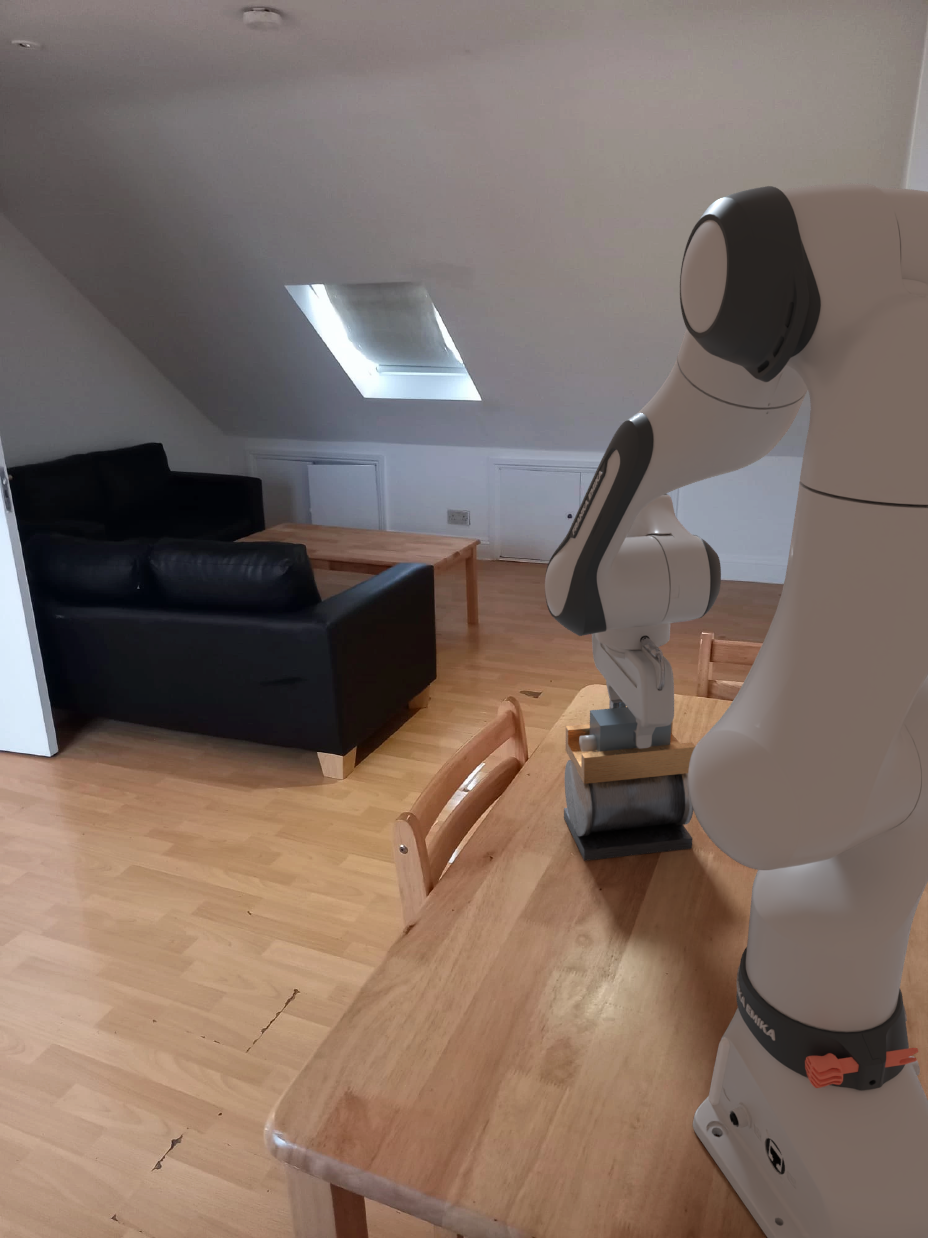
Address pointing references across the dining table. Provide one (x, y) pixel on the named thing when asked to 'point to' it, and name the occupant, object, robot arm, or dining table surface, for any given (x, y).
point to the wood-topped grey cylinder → (627, 798)
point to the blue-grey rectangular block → (617, 731)
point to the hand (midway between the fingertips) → (629, 728)
